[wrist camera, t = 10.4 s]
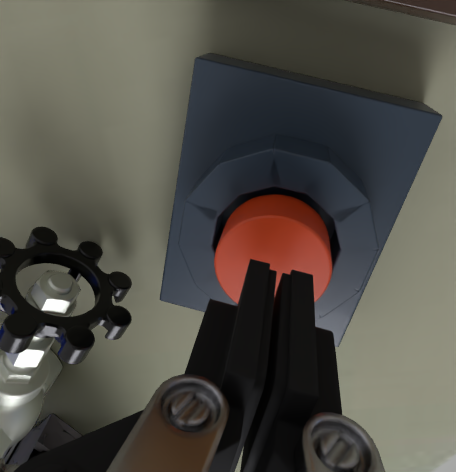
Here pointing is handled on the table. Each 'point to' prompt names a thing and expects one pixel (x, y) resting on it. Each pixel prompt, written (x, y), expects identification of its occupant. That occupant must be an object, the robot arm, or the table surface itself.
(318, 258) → the red button
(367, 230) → the button box
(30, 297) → the valve
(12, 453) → the electrical switch
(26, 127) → the table surface
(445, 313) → the table surface
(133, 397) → the table surface
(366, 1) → the handle panel
